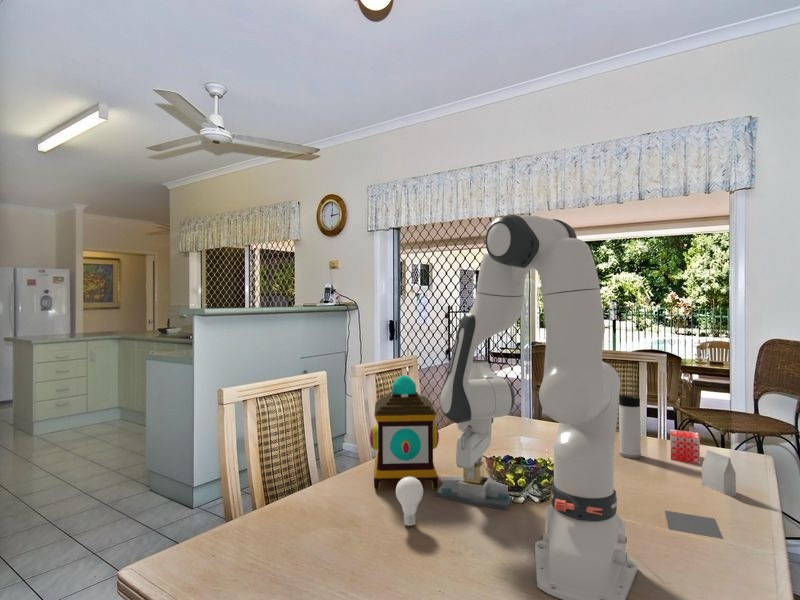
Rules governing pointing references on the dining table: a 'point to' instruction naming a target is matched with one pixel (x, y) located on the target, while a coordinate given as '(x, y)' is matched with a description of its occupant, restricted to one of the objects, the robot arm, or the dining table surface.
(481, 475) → the block
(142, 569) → the dining table surface
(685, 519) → the rubber mat
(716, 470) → the white house block
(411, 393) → the decorative lantern
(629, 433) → the travel mug
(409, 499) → the lightbulb
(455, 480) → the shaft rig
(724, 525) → the dining table surface
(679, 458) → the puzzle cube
